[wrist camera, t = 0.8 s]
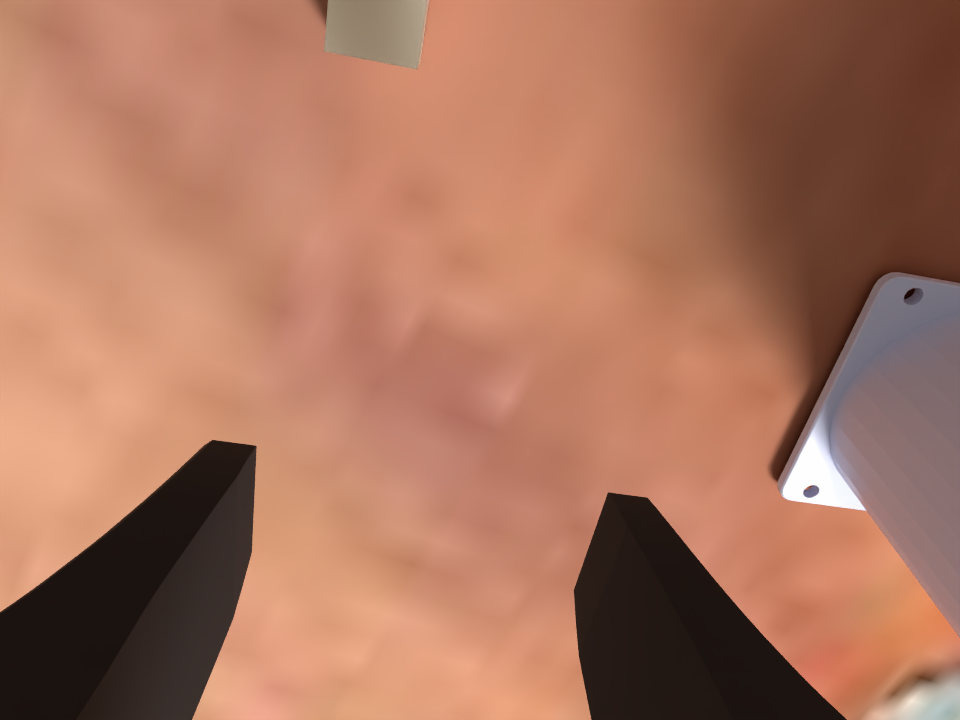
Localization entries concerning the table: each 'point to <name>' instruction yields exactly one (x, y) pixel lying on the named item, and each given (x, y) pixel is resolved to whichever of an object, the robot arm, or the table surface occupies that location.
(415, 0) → the stop rail
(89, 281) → the table surface
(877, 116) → the table surface
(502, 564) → the table surface
